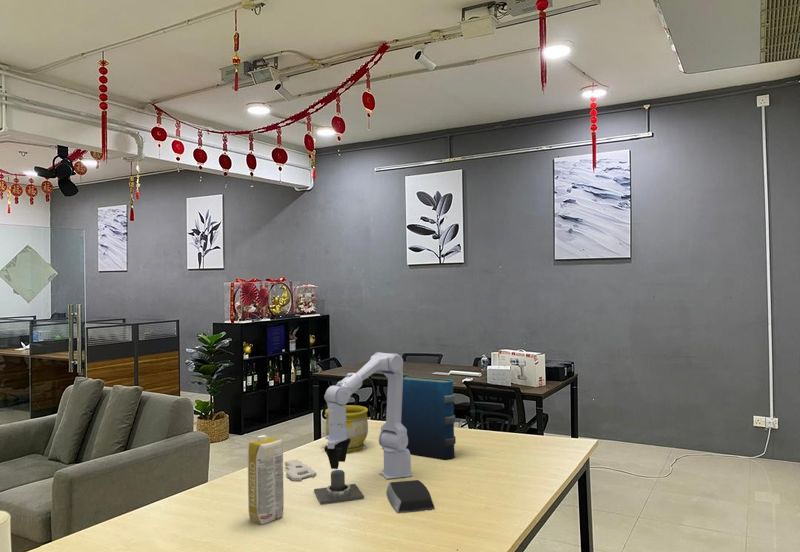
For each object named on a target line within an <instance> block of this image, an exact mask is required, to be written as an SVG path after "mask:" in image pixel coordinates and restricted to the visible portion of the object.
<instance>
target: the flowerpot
mask: <svg viewBox="0 0 800 552" xmlns="http://www.w3.org/2000/svg"><path fill="white" fill-rule="evenodd" d="M368 411H369V408H367V407H366V406H362V405H347V404H346V431H347V438H350V439H351V441H350V444H349V446H348V449H347V454H348V453H354V452H359V451H361V450H362V449H363V447H364V446H365V443H364V442H365V441H366V439H367V437H368V432H369V425H368V424H369V422H368V414H367V413H368ZM324 413H325V415H326V416H325V435H326V436H328V435H329V409H328V408H326V409H325V410H324ZM326 436H325V437H326Z"/></svg>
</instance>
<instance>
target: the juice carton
mask: <svg viewBox="0 0 800 552" xmlns="http://www.w3.org/2000/svg"><path fill="white" fill-rule="evenodd" d="M247 444H248V445H247V501H248V502H247V504H248V507H247V508H248V516H249V520H250V521H252V522H255V523H258V524H260V525H265V524H268V523H270V522H272V521H275V520H278V519H281V518H283V516H284V508H285V507H284V504H285V501H284V500H285V499H284V498H285V497H284V495H285V494H284V446H283V440H282V439H281V438H276V437H273V436H267V435H266V434H264V435H263V434H262V435H258V436H257V440H251V441H248V443H247Z"/></svg>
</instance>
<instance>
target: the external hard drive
mask: <svg viewBox="0 0 800 552" xmlns="http://www.w3.org/2000/svg"><path fill="white" fill-rule="evenodd" d="M385 493H386V498H387V500H388V502H389V504H390V506H391V508H392V509H393V510H394V511H395V512H396V514H404V513H405V514H406V513H413V512H414V513H417V512H425V510H427V511H433V510H432V509H435V505H434V502H433V499H432V496H431V493H430V491H429V489H428V487H427V486H426V485H425V484H424V483H423V482H422V481H421V480H419V479H414V480H413V479H412V480H403V481H389V483H388V485H387V487H386V492H385ZM435 510H436V509H435Z"/></svg>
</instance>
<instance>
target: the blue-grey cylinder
mask: <svg viewBox="0 0 800 552" xmlns="http://www.w3.org/2000/svg"><path fill="white" fill-rule="evenodd" d="M345 473H346V472H345V471H344V470H342V469H333V470H331V472H330V485H331V490H333V491H342V490H345V484H346V481H345V479H346V478H345Z"/></svg>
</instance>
